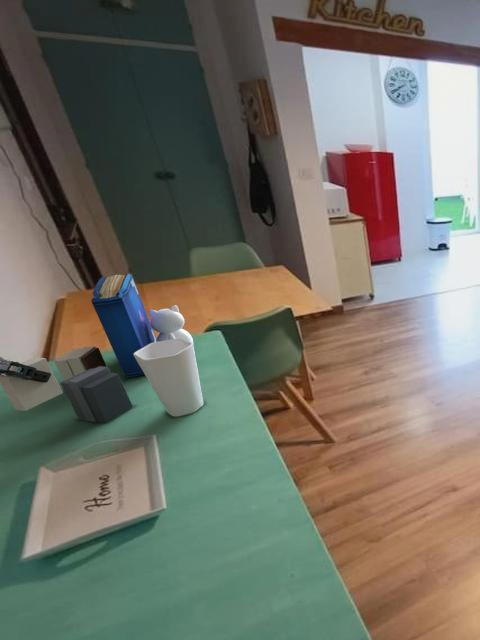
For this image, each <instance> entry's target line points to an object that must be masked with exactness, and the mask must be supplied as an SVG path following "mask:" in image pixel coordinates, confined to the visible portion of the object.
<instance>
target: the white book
mask: <svg viewBox="0 0 480 640" xmlns="http://www.w3.org/2000/svg"><path fill="white" fill-rule="evenodd" d="M19 363H20V364H24V365H27V366H31V367H34V368H37V369H36V370H40V371H44V372H48V373H51V376H50V378H49V380H48V382H46V383H42V382H37V381H33V380H25V379H24V380H22V379H21V378H16V377H13V378H11V379H9V378H2V377H0V385H1V386H2V388H3V390H4V392H5V393H6V395H7V397H8V399H9V400H10V403H11V404H12V406H13V407H14V410H16V411H23V412H27V411H28V410H31V409H33V408H35V407H37V406H39V405H41V404H43V403H45V402H47V401H49V400H52V399H54V398H56V397H58V396H60V395H62V394H63V393H64V392H63V389H62V388H61V386H60V384H59V382H58V380H57V378H56V376H55V374H54V372H53V370H52V368H51V366H50V364H49V362H48V360H47V358H45V357H38V356H35V357H33V358H30V359H28V360H24V361H22V362H19Z"/></svg>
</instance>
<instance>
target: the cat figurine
mask: <svg viewBox="0 0 480 640" xmlns="http://www.w3.org/2000/svg"><path fill="white" fill-rule="evenodd" d="M148 314H149V317H150V324H151V326H152V329H153V331H155V332H157V333H159V334H158V335H157V336H156V342H159V341H165V340H172V339H178V338H182V339H184V340H187V341H189V342H191V343H193V344H194V339H193V336H192V335H191V334H190V333H189V331H187V330H185V329H184V328H183V327H184V325H185V318H184V316H183V315H182V314H181V312H180V309H179V307H178V305H176V304H174V305H172V306H171V307H169V308H161V309H159V310H158V309H157V310H155V309H152V308H151V309H149V310H148Z"/></svg>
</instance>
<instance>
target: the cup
mask: <svg viewBox="0 0 480 640" xmlns="http://www.w3.org/2000/svg"><path fill="white" fill-rule="evenodd" d="M133 355H134V357H135V359H136V360H137V362H138V364H139V365H140V367H141V369H142V370H143V372H144V376H145V377H146V379H147V380H148V382H149V384H150V385H151V387H152V388H153V391H154V392H155V394H156V396H157V397H158V399H159V401H160V403H161V404H162V406H163V408H164V409H165V411H166V412H167V414H169V415H170V416H172V417H181V416H182V417H183V416H186V415H190V414H191V415H192V414H193V413H195V412H197V411H199V409H200V408H201V407H202V406H203V405H204V399H203V394H202V386H201V382H200V381H201V380H200V375H199V369H198V364H197V358H196V353H195V346H194V342H193V343H191V342H189V341H187V340H184V339H182V338H178V339H172V340H165V341H159V342H154V343H150V344H149V345H147V346H145V347H143V348H142V349H140V350H138V351H136V352H135V353H134V354H133Z"/></svg>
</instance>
